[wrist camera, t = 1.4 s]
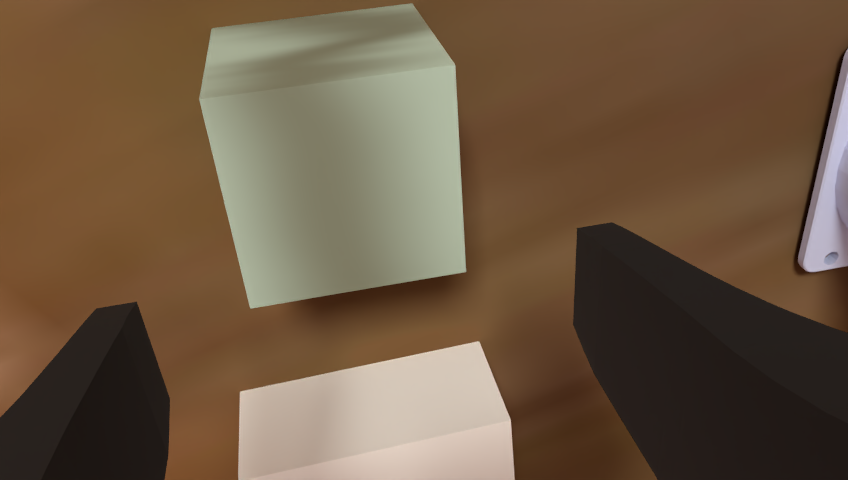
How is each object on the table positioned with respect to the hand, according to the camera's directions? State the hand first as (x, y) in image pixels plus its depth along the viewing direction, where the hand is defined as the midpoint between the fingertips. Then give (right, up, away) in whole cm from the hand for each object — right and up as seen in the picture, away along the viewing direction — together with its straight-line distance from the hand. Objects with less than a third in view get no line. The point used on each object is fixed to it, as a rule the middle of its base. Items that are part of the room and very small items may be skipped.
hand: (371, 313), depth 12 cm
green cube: (-2, +5, +8) cm, 9 cm away
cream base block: (-1, -6, +15) cm, 16 cm away
